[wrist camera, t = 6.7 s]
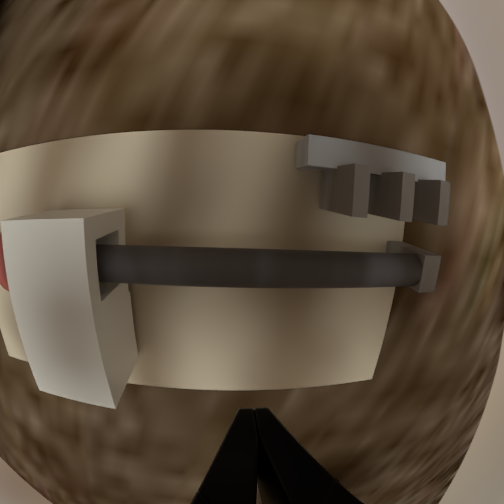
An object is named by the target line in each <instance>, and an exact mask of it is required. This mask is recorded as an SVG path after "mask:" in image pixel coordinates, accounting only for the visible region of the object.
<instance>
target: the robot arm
mask: <svg viewBox="0 0 504 504" xmlns="http://www.w3.org/2000/svg"><path fill="white" fill-rule="evenodd" d="M257 483H258V488H259V492H260V496H261V500H262V504H364V503H362V502H361V501H359V500H358V499H357V498H356V497H355V496H353V495H352V494H351V493H350V492H349V491H348V490H346V489H345V488H344V487H343V486H342V485H341V484H340V483H339V481H338V480H336V479H335V478H334V477H333V476H332V475H330V474H329V473H328V472H327V471H326V470H325V469H324V468H323V467H322V466H321V465H320V464H319V463H318V462H317V461H316V460H315V459H314V458H313V457H312V455H311V454H310V453H309V452H308V451H307V450H306V449H305V448H304V447H303V446H302V445H301V444H300V443H299V442H298V441H297V440H296V439H295V438H294V436H293V435H292V434H291V433H290V432H289V431H288V430H287V429H286V428H285V427H284V426H283V424H282V423H281V422H280V421H279V420H278V419H277V418H276V417H275V415H274V414H273V413H272V412H271V411H270V410H269V409H268V408H266V407H263V408H254V409H252V408H239V409H238V410H237V413H236V415H235V417H234V419H233V421H232V423H231V425H230V427H229V430H228V432H227V434H226V436H225V438H224V440H223V442H222V444H221V446H220V448H219V450H218V452H217V454H216V456H215V458H214V460H213V462H212V464H211V466H210V468H209V470H208V472H207V474H206V476H205V478H204V480H203V482H202V484H201V486H200V488H199V489H198V492H197V493H196V495H195V497H194V498H193V500H192V502H191V504H256V495H257Z"/></svg>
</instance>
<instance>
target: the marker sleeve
mask: <svg viewBox="0 0 504 504" xmlns="http://www.w3.org/2000/svg"><path fill="white" fill-rule="evenodd" d="M1 233H2V244H3V254H4V261H5V268H6V275H7V281H8V286H9V292H10V297H11V301H12V306H13V310H14V314H15V318H16V322H17V326H18V330H19V333H20V337H21V340H22V343H23V346H24V350H25V353H26V356H27V359H28V361H29V364H30V367H31V370H32V372H33V375H34V378H35V380H36V383H37V385H38V388H39V390H41V391H44V392H47V393H50V394H54V395H57V396H61V397H64V398H68V399H72V400H76V401H80V402H84V403H89V404H93V405H98V406H103V407H108V408H113V409H116V407H117V405H118V402H119V400H120V398H121V395H122V393H123V391H124V389H125V386H126V384H127V382H128V380H129V377H130V375H131V373H132V371H133V368H134V366H135V364H136V362H137V360H138V358H139V357H138V351H137V344H136V338H135V331H134V323H133V315H132V306H131V296H130V292H129V290H128V283H112V282H99V279H98V269H97V257H96V244H103V245H125V208H106V209H68V210H50V211H45V212H39V213H34V214H29V215H25V216H20V217H15V218H11V219H6V220H2V221H1Z"/></svg>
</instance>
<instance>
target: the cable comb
mask: <svg viewBox="0 0 504 504" xmlns="http://www.w3.org/2000/svg"><path fill="white" fill-rule="evenodd" d="M445 172H446V163H445V162H441V161H438V160H435V159H431V158H427V157H424V156H420V155H416V154H412V153H408V152H404V151H400V150H395V149H391V148H387V147H382V146H377V145H372V144H367V143H362V142H356V141H351V140H345V139H339V138H332V137H325V136H318V135H311V134H308V135H307V136H299V135H289V134H279V133H267V132H253V131H233V130H156V131H138V132H124V133H113V134H103V135H94V136H86V137H78V138H71V139H65V140H59V141H53V142H47V143H42V144H37V145H32V146H27V147H22V148H18V149H14V150H9V151H5V152H1V153H0V329H1V332H2V335H3V339H4V342H5V345H6V348H7V351H8V354H9V356H11V357H14V358H18V359H21V360H24V361H27V362H29V361H28V359H27V356H26V353H25V350H24V346H23V343H22V340H21V337H20V333H19V330H18V326H17V322H16V318H15V314H14V310H13V306H12V301H11V297H10V292H9V286H8V281H7V275H6V268H5V261H4V254H3V244H2V233H1V221H2V220H6V219H11V218H15V217H20V216H25V215H29V214H34V213H39V212H45V211H50V210H68V209H106V208H125V245H103V244H96V257H97V269H98V279H99V282H112V283H128V290H129V292H130V296H131V306H132V315H133V323H134V331H135V338H136V344H137V351H138V357H139V358H138V360H137V362H136V364H135V366H134V368H133V371H132V373H131V375H130V377H129V380H128V382H127V383H132V384H140V385H149V386H159V387H170V388H183V389H202V390H272V389H291V388H304V387H315V386H325V385H334V384H342V383H349V382H356V381H363V380H369V379H372V377H373V374H374V370H375V367H376V364H377V360H378V357H379V354H380V350H381V346H382V343H383V339H384V335H385V331H386V327H387V323H388V319H389V314H390V310H391V305H392V301H393V296H394V291H395V287H405V286H408V287H409V288H411V289H413V290H414V291H416V292H418V293H425V292H434V291H435V287H436V282H437V277H438V272H439V267H440V261H441V256H440V255H437V254H435V253H432V252H429V251H427V250H424V249H421V248H419V247H416V246H413V245H411V244H408V243H405V242H402V241H403V233H404V224H405V222H412V219H413V220H417V221H422V222H426V223H430V224H435V225H440V226H447V222H448V212H449V200H450V182H447V181H445Z"/></svg>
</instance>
